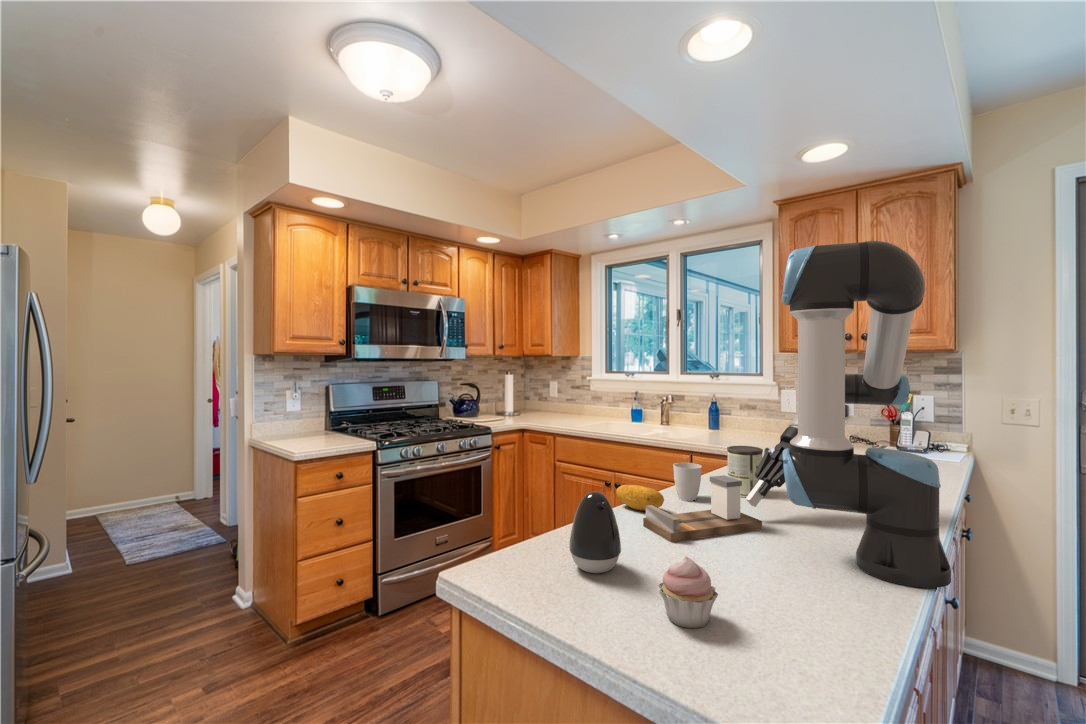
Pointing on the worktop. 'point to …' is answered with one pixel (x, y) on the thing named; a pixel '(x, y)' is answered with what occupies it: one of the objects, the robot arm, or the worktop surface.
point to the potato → (639, 496)
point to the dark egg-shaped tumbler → (595, 535)
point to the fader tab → (725, 496)
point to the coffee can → (744, 466)
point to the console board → (695, 524)
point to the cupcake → (687, 594)
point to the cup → (687, 480)
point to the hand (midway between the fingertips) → (750, 502)
